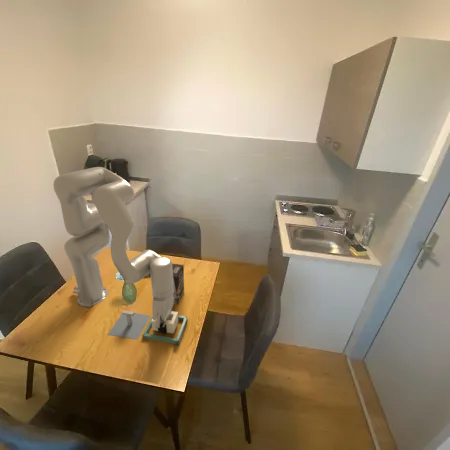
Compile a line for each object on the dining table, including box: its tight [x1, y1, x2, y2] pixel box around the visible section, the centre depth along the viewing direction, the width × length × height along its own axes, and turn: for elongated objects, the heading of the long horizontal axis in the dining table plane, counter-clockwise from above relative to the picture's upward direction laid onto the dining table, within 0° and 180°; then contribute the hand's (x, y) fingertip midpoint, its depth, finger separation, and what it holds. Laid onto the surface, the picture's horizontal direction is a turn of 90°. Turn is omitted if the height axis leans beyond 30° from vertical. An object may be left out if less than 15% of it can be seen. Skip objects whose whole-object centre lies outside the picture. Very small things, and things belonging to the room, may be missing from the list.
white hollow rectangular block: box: [151, 310, 179, 334], centre depth 97 cm, size 8×6×5 cm
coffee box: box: [172, 263, 185, 305], centre depth 112 cm, size 9×6×16 cm
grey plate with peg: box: [107, 310, 152, 341], centre depth 98 cm, size 12×12×8 cm
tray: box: [141, 314, 188, 347], centre depth 99 cm, size 14×12×2 cm
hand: (165, 325), depth 98 cm, fingers closed on white hollow rectangular block, 5 cm apart
